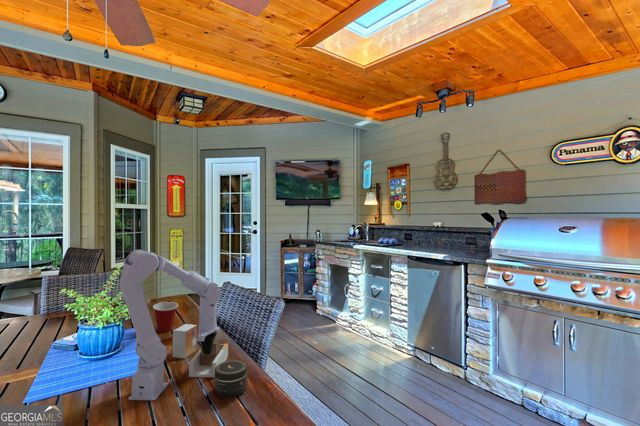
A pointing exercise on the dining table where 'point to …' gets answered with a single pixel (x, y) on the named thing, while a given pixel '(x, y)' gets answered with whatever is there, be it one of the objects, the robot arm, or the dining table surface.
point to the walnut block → (214, 352)
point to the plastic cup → (165, 315)
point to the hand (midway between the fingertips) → (207, 353)
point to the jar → (230, 378)
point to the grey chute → (207, 370)
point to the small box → (184, 341)
